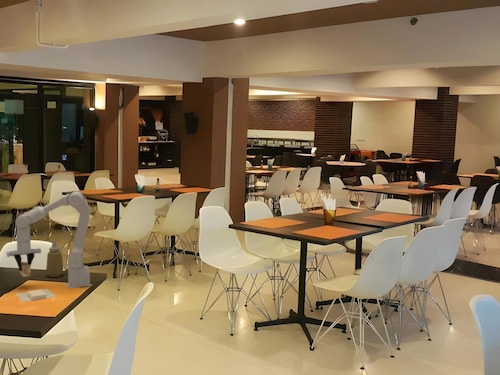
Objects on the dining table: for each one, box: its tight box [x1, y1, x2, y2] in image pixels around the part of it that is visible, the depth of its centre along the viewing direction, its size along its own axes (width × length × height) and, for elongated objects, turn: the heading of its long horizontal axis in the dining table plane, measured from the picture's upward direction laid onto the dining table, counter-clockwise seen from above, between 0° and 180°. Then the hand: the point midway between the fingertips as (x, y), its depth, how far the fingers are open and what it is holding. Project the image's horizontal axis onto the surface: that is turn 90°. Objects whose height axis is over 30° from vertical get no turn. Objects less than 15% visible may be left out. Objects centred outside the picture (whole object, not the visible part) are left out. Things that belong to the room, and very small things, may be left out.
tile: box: [26, 288, 48, 301], centre depth 243 cm, size 6×2×9 cm
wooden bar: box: [18, 261, 32, 278], centre depth 256 cm, size 3×10×4 cm, turn 34°
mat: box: [15, 288, 57, 303], centre depth 246 cm, size 14×14×1 cm
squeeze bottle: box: [46, 239, 64, 278], centre depth 277 cm, size 8×8×18 cm
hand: (24, 270), depth 256 cm, fingers closed on wooden bar, 3 cm apart
